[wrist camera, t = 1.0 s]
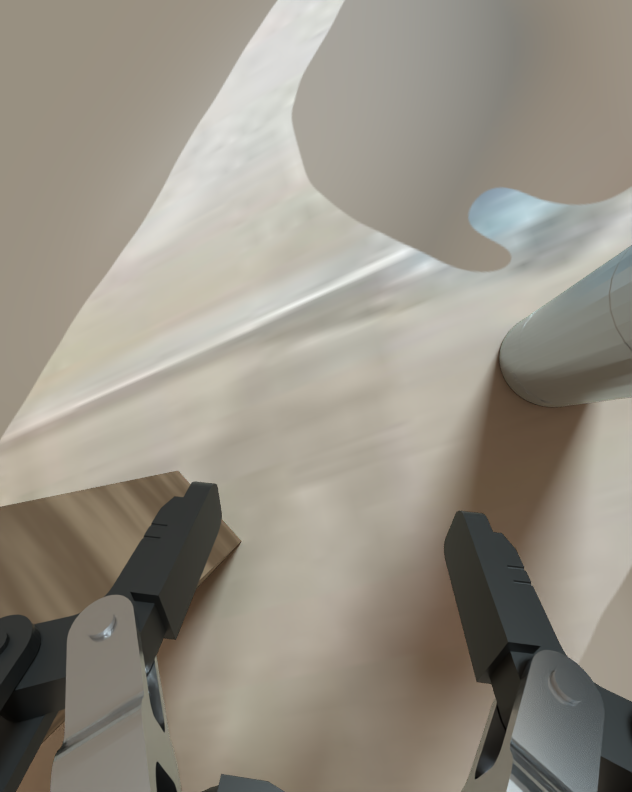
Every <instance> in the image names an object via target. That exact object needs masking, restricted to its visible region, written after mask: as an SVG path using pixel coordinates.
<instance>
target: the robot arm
mask: <svg viewBox="0 0 632 792" xmlns="http://www.w3.org/2000/svg"><path fill="white" fill-rule="evenodd" d="M499 360H500V367H501V371H502V374H503V376H504V379H505V380H506V382H507V383H508V385H509V386H510V387H511V389H512V390H513V391H514V392H515V393H516V394H518V395H519V396H521V397H522V398H523V399H525V400H527V401H529V402H531V403H534V404H536V405H541V406H545V407H562V406H569V405H577V404H584V403H593V402H601V401H608V400H615V399H623V398H630V397H632V245H631V246H630V247H628V248H627V249H625V250H624V251H622V252H621V253H619V254H618V255H617V256H615V257H614V258H612V259H611V260H609V261H608V262H606V263H605V264H603V265H602V266H601V267H599V268H598V269H596V270H595V271H593V272H592V273H590V274H589V275H587V276H586V277H585V278H583V279H582V280H580V281H579V282H577V283H576V284H574V285H573V286H571V287H570V288H569V289H567V290H566V291H564V292H563V293H561V294H560V295H558V296H557V297H555V298H554V299H553V300H551V301H550V302H548V303H547V304H545V305H544V306H542V307H541V308H539V309H538V310H536V311H535V312H533V313H532V314H530V315H529V316H528V317H526V318H525V319H523V320H522V321H520V322H519V323H518V324H516V325H515V326H514V327H513V328H512V329H511V330H510V331H509V332H508V333H507V335H506V337H505V338H504V340H503V343H502V346H501V349H500V357H499ZM221 519H222V512H221V505H220V499H219V493H218V487H217V485H216V484H213V483H204V482H192V483H191V485H190V486H189V488H188V490H187V491H186V493H185V495H184V497H177V496H174V497H173V498H172V499H171V500H170V501H168V502H167V503H166V504H165V505H164V506H163V507H161V508H160V510H159V512H158V513H157V515H156V516H155V518H154V520H153V521H152V523H151V526H149V528H148V529H147V531H146V533H145V534H144V538H143V539H141V541H140V542H139V544H138V546H137V547H136V549H135V551H134V552H133V554H132V555H131V557H130V559H129V560H128V562H127V564H126V565H125V567H124V569H123V570H122V572H121V573H120V575H119V577H118V578H117V580H116V582H115V583H114V585H113V586H112V588H111V589H110V591H109V592H108V593H107V594H106V595H105V596H104V597H103V598H100V599H98V600H96V601H95V602H93V603H92V604H90V605H89V606H88V607H86V608H85V609H84V610H83V611H82V612H81V613H78V614H76V615H72V616H69V617H64V618H60V619H55V620H51V621H46V622H42V623H37V624H33V623H32V622H31V621H30V620H29V619H28V618H27V617H26V616H23V615H9V616H5V617H2V618H0V792H16V791H17V789H18V787H19V785H20V783H21V781H22V779H23V777H24V775H25V774H26V772H27V770H28V768H29V766H30V764H31V762H32V760H33V759H34V757H35V755H36V753H37V751H38V749H39V747H40V745H41V743H42V742H43V740H44V738H45V736H46V734H47V732H48V730H49V728H50V727H51V725H52V723H53V721H54V719H55V717H56V715H57V713H58V711H60V710H63V709H65V734H64V741H63V744H62V747H61V748H60V749H59V750H58V751H57V753H56V755H55V758H54V761H53V766H52V773H51V785H50V792H182V789H181V783H180V777H179V772H178V766H177V761H176V757H175V753H174V749H173V746H172V742H171V739H170V734H169V729H168V724H167V717H166V711H165V705H164V699H163V693H162V687H161V681H160V675H159V669H158V662H157V656H156V655H157V652H158V650H159V647H160V645H161V643H162V640H163V638H167V639H174V640H176V638H177V635H178V633H179V630H180V628H181V625H182V623H183V620H184V618H185V615H186V613H187V610H188V608H189V605H190V603H191V600H192V598H193V595H194V593H195V590H196V588H197V585H198V583H199V580H200V578H201V575H202V573H203V570H204V568H205V565H206V563H207V560H208V557H209V555H210V552H211V550H212V547H213V545H214V542H215V540H216V537H217V535H218V532H219V529H220V525H221ZM444 555H445V560H446V564H447V568H448V572H449V576H450V580H451V584H452V588H453V591H454V595H455V599H456V603H457V607H458V611H459V615H460V619H461V623H462V626H463V630H464V634H465V638H466V642H467V646H468V650H469V654H470V657H471V661H472V665H473V669H474V673H475V677H476V681H477V682H481V683H488V684H492V687H493V691H494V694H495V699H494V701H493V704H492V707H491V710H490V713H489V716H488V719H487V722H486V725H485V728H484V731H483V735H482V738H481V741H480V744H479V747H478V750H477V753H476V756H475V759H474V762H473V765H472V768H471V771H470V774H469V777H468V779H467V782H466V784H465V786H464V788H463V789H462V791H461V792H632V702H631V701H629V700H626V699H625V698H623V697H620V696H618V695H616V694H614V693H612V692H610V691H608V690H606V689H604V688H602V687H600V686H599V685H597V684H595V683H594V682H593V681H592V680H591V678H590V677H589V676H588V675H587V673H586V672H585V671H584V670H583V669H582V668H581V667H580V666H579V665H578V664H577V663H575V662H574V661H573V660H572V659H570V658H568V657H567V655H566V654H565V652H564V651H563V649H562V647H561V645H560V643H559V641H558V639H557V637H556V635H555V633H554V630H553V628H552V626H551V624H550V622H549V620H548V618H547V615H546V613H545V611H544V609H543V607H542V605H541V602H540V600H539V598H538V596H537V594H536V592H535V590H534V587H533V586H531V581H530V579H529V577H528V575H527V572H526V571H524V566H523V564H522V562H521V559H520V557H519V555H518V553H517V551H516V549H515V548H514V547H513V546H512V544H511V543H510V542H509V541H508V540H507V539H506V537H505V536H504V535H503V534H502V533H496V532H493V531H492V529H491V526H490V524H489V521H488V519H487V517H486V516H485V515H484V514H483V513H475V512H466V511H457V512H456V514H455V517H454V519H453V521H452V524H451V526H450V529H449V531H448V534H447V536H446V539H445V543H444ZM202 792H284V791H283V790H281V789H279V788H278V787H276V786H275V785H273V784H271V783H270V782H268V781H262V780H256V779H249V778H243V777H236V776H230V775H224V774H221V778H220V782H219V785H218V786H215V787H211V788H209V789H207V790H205V791H202Z"/></svg>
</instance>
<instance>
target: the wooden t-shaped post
mask: <svg viewBox="0 0 632 792" xmlns="http://www.w3.org/2000/svg"><path fill="white" fill-rule="evenodd" d="M189 486H190V483H189V482H188V481H187V480H186V479H185V478H184V477H183V476H182V475H181V473H180V472H179V471H174V472H169V473H165V474H160V475H155V476H150V477H145V478H140V479H135V480H130V481H125V482H120V483H115V484H110V485H106V486H101V487H96V488H91V489H86V490H81V491H76V492H71V493H66V494H61V495H56V496H51V497H47V498H42V499H37V500H32V501H27V502H22V503H17V504H12V505H7V506H2V507H0V618H2V617H5V616H9V615H23V616H26V617H27V618H28V619H29V620H30V621H31V622H32V623H33V624H37V623H42V622H46V621H51V620H55V619H60V618H64V617H69V616H72V615H76V614H78V613H81V612H82V611H83V610H84V609H85V608H86V607H88V606H89V605H90V604H92V603H93V602H95V601H96V600H98V599H100V598H103V597H104V596H105V595H106V594H107V593H108V592H109V591H110V589H111V588H112V586H113V585H114V583H115V582H116V580H117V578H118V577H119V575H120V573H121V572H122V570H123V569H124V567H125V565H126V564H127V562H128V560H129V559H130V557H131V555H132V554H133V552H134V551H135V549H136V547H137V546H138V544H139V542H140V541H141V539H143V538H144V534H145V533H146V531H147V529H148V528H149V526H151V523H152V521H153V520H154V518H155V516H156V515H157V513H158V512H159V510H160V508H161V507H163V506H164V505H165V504H166V503H167V502H168V501H170V500H171V499H172V498H173V497H174V496H177V497H184V495H185V493H186V491H187V490H188V488H189ZM240 542H241V540H240V539H239V538H238V537H237V536H236V535H235V533H234V532H233V531H232V530H231V529H230V528H229V527H228V526H227V525H226V523H225V522H224V521H223V520H222V519H221V525H220V529H219V532H218V535H217V537H216V540H215V542H214V545H213V547H212V550H211V552H210V555H209V557H208V560H207V563H206V565H205V568H204V570H203V573H202V575H201V578H200V580H199V583H198V585H197V588H198V587H199V585H200V584H201V583H202V582H203V581H204V580H205V579H206V578H207V577H208V576H209V575H210V574H211V573H212V572H213V571H214V570H215V569H216V567H217V566H218V565H219V564H220V563H221V562H222V561H223V560H224V559H225V558H226V557H227V556H228V555H229V554H230V553H231V552H232V551H233V550H234V548H235V547H236V546H237V545H238V544H239V543H240ZM197 588H196V589H197ZM64 721H65V709H63V710H60V711H58V713H57V715H56V717H55V719H54V721H53V723H52V725H51V727H50V728H49V730H48V732H47V734H46V736H45V738H44V740H43V742H44V741H45V740H46V739H47V738H48V737H49V736H50V735H51V734H52V733H53V732H54V731H55V730H56V729H57V728H58V727H59V726H60V725H61V724H62V723H63V722H64ZM43 742H42V743H43ZM42 743H41V744H42Z"/></svg>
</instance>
